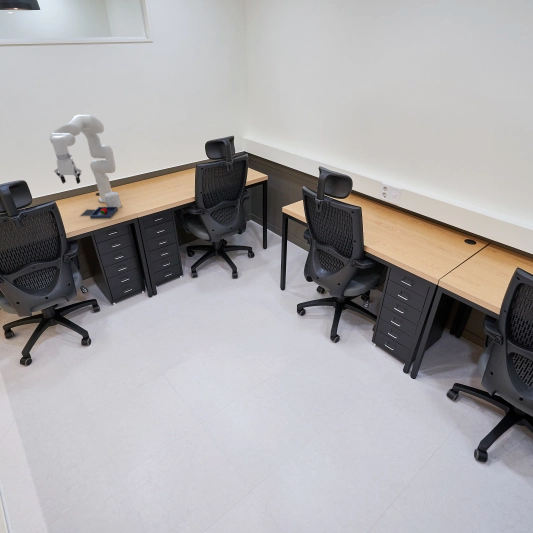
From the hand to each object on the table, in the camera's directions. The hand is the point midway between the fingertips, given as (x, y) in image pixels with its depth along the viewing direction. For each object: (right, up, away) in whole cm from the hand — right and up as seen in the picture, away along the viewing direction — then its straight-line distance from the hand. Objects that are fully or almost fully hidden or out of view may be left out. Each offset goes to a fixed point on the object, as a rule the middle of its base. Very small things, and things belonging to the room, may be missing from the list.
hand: (71, 182), depth 232 cm
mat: (-4, -15, +31) cm, 35 cm away
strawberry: (+8, -16, +29) cm, 34 cm away
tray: (+8, -16, +29) cm, 35 cm away
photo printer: (+12, -10, +39) cm, 42 cm away
